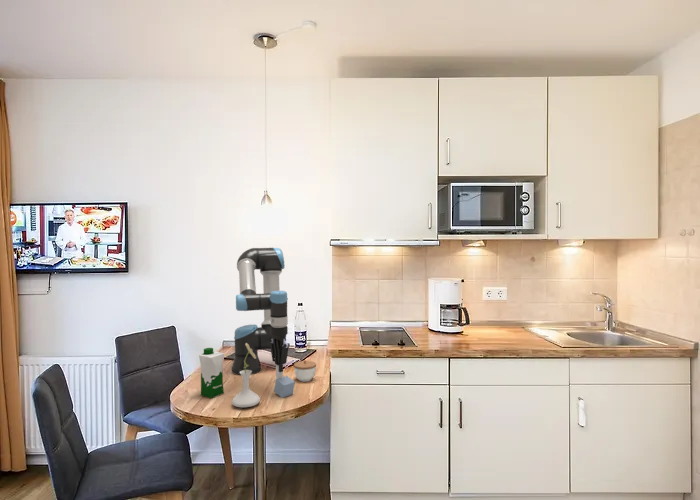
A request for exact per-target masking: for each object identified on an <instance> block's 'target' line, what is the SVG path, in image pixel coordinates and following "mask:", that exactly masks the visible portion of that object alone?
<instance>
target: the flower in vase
mask: <svg viewBox="0 0 700 500" xmlns="http://www.w3.org/2000/svg"><path fill="white" fill-rule="evenodd" d="M245 345H246V347H247V349H248V353H250V354H251V355H252V356H253V358H254V359H256V355H255V354H254V353H253V352H252V349H250V347H249V345H248V344H247V343H246V344H245ZM248 353H247V355H248ZM247 355H246V357H247ZM245 360H246V358H245ZM245 365H246V366H245ZM244 366H245V367H244V368H245V370H242V371H240V372H239V373H240V374H241V375H240V376H241V377H242V378H241V379H242V389H241V391H240V392H238V393H237V394H236V395H235V396H234V397H233V399H232V401H231V404H232V406H234V407H237V408H249V407H250V408H251V407H254V406H256V405H258V404H259V402H260V401H261V398H260V396H259V395H258V394H257V393H255V392H254V391H253V390H251V389H250V385H249V383H250V382H249V380H250V376H251V375H252V374H251V372H252V371H251V370H246V367H248V366H249V365H247V364H246V362H245V361H244Z"/></svg>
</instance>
